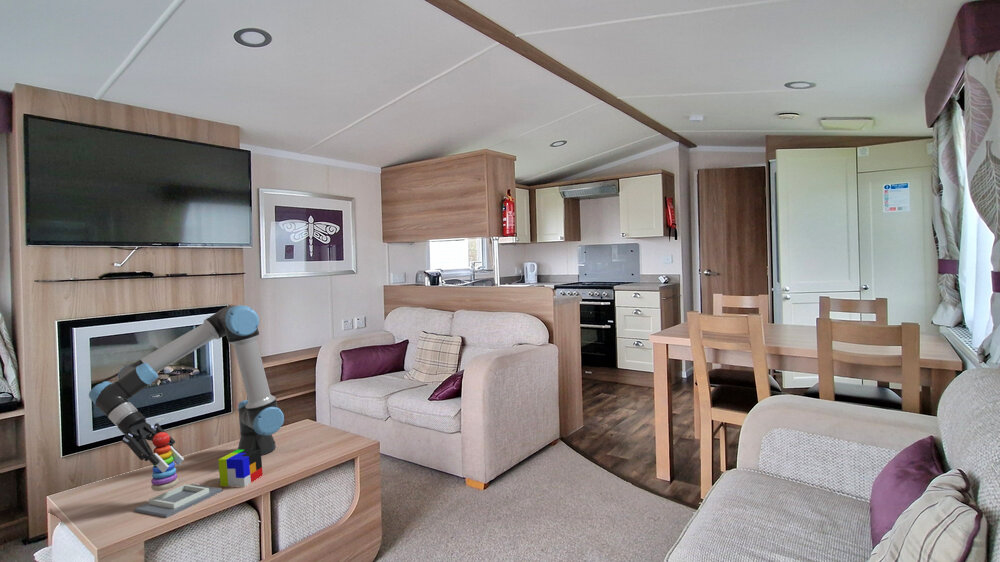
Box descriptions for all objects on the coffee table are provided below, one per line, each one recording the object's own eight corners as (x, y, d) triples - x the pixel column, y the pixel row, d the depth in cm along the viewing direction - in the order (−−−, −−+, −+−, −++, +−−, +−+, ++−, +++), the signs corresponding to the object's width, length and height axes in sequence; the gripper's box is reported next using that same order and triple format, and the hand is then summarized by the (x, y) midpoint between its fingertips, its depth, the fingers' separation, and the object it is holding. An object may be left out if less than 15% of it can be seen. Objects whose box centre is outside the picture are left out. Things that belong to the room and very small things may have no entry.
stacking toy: (184, 483, 180) (179, 430, 179) (160, 493, 173) (155, 437, 172) (169, 480, 183) (165, 428, 183) (146, 490, 176) (141, 435, 175)
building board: (191, 486, 191) (191, 479, 191) (222, 491, 184) (221, 484, 184) (134, 511, 172) (134, 503, 172) (166, 517, 166) (166, 509, 166)
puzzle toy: (244, 487, 187) (242, 459, 187) (220, 486, 189) (218, 459, 189) (262, 475, 197) (260, 449, 197) (239, 475, 199) (237, 449, 199)
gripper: (144, 418, 189) (188, 462, 187) (96, 435, 171) (144, 485, 169) (156, 403, 188) (200, 448, 186) (109, 419, 170) (157, 468, 168)
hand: (173, 465), depth 177 cm, fingers closed on stacking toy, 6 cm apart
